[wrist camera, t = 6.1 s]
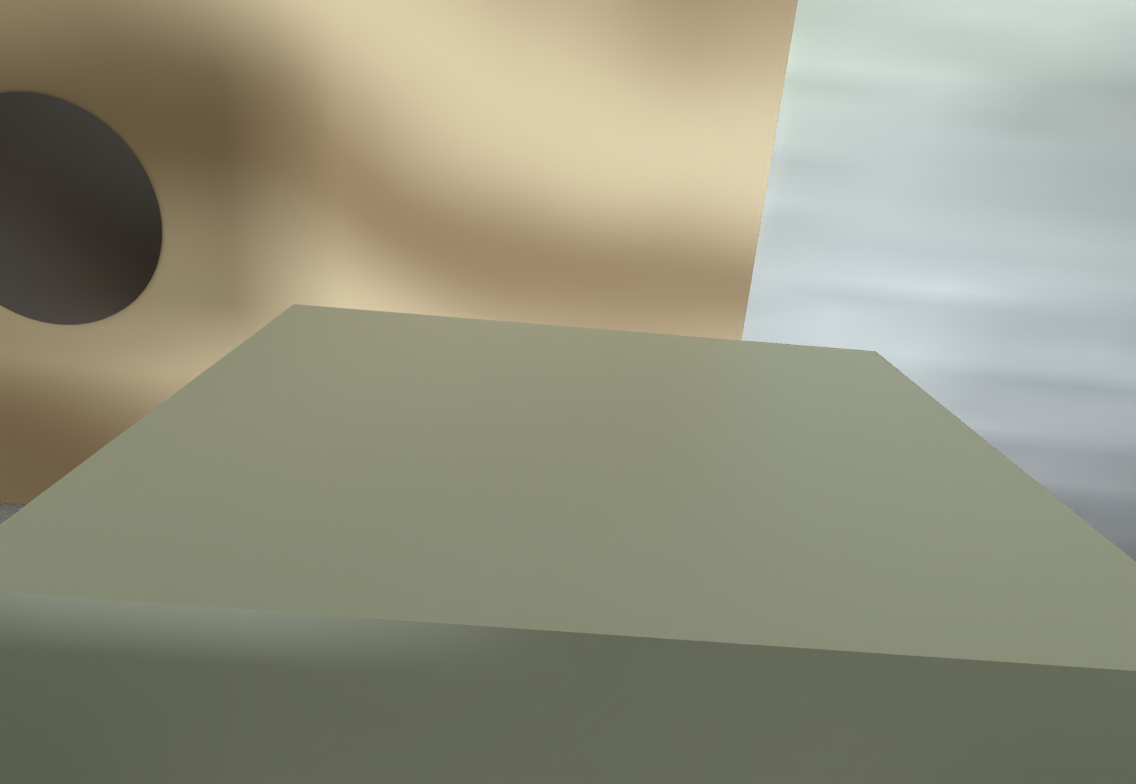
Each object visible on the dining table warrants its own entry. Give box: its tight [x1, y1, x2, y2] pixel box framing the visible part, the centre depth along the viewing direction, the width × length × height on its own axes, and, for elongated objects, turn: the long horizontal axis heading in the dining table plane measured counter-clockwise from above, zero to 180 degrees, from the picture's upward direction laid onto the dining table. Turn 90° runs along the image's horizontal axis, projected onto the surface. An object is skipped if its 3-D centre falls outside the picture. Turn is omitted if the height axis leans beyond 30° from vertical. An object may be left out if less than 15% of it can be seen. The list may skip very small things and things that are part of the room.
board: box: [0, 0, 798, 505], centre depth 17 cm, size 16×18×1 cm
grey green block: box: [0, 304, 1136, 784], centre depth 7 cm, size 6×6×5 cm
